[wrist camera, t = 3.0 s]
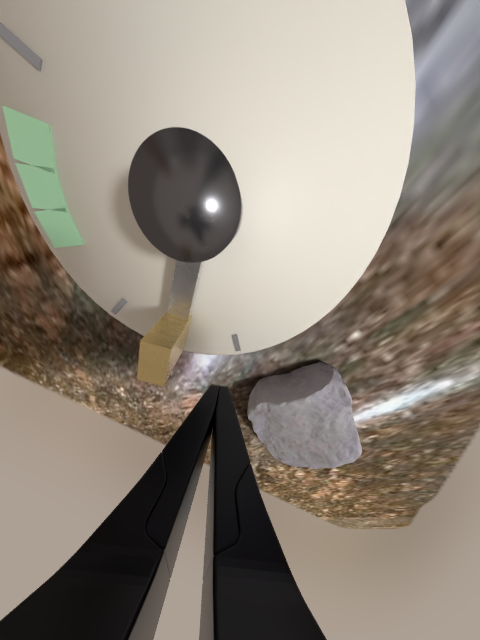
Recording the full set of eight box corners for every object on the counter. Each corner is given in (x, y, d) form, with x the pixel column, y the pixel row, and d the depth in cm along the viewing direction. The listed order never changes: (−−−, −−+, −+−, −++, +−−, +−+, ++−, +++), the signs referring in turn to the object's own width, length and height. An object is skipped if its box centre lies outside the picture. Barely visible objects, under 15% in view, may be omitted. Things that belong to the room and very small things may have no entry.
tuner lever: (167, 140, 8) (108, 79, 5) (255, 178, 9) (259, 148, 5) (146, 343, 14) (112, 383, 11) (199, 358, 15) (184, 401, 11)
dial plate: (480, -333, 5) (540, -479, 4) (365, 330, 14) (374, 338, 13) (-102, -22, 7) (-155, -59, 6) (133, 360, 17) (127, 368, 16)
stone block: (273, 426, 25) (355, 427, 21) (270, 468, 21) (371, 479, 17) (240, 365, 20) (337, 351, 16) (227, 403, 16) (353, 397, 12)
